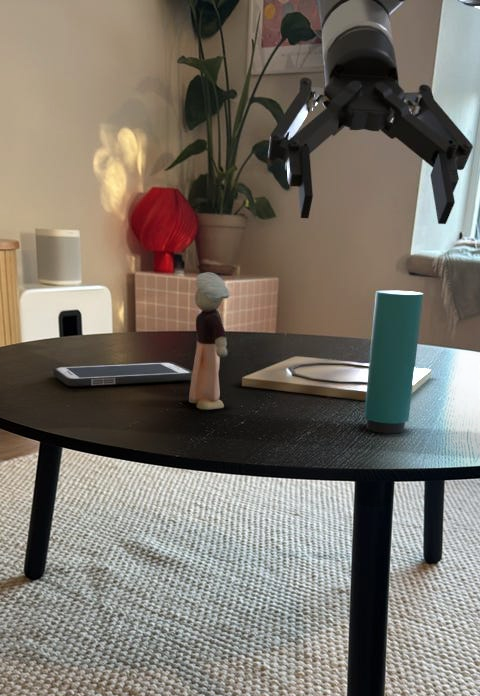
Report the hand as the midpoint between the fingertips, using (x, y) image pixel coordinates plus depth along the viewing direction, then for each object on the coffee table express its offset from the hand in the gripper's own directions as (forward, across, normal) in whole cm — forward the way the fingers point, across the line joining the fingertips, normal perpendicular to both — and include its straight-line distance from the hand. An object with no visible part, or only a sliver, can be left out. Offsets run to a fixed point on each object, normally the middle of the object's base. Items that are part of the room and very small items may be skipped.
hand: (377, 210), depth 72 cm
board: (+5, 0, -21) cm, 22 cm away
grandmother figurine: (+15, +16, -12) cm, 25 cm away
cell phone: (+6, +25, -20) cm, 33 cm away
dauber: (+21, 0, -6) cm, 22 cm away
